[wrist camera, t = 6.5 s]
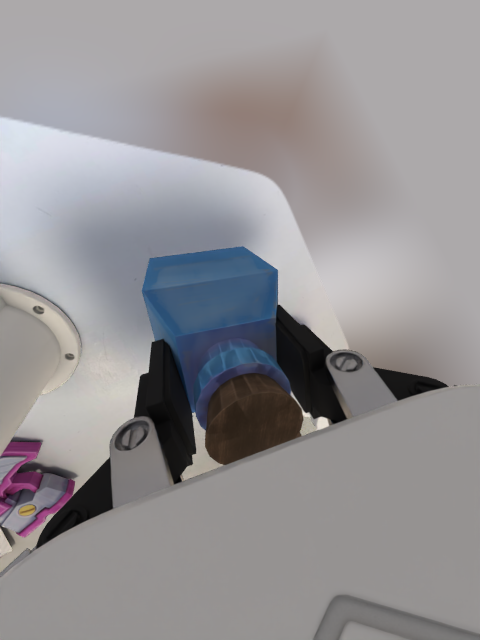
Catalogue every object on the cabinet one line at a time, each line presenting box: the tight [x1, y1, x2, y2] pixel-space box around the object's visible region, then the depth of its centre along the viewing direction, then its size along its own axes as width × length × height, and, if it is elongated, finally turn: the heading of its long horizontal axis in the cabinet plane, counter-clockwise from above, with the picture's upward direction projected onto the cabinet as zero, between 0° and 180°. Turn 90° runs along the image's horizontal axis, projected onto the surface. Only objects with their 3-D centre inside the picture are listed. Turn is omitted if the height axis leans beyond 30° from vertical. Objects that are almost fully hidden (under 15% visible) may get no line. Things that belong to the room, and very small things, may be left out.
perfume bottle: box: [142, 246, 303, 465], centre depth 13 cm, size 6×6×12 cm
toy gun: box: [0, 442, 75, 537], centre depth 30 cm, size 3×11×10 cm
